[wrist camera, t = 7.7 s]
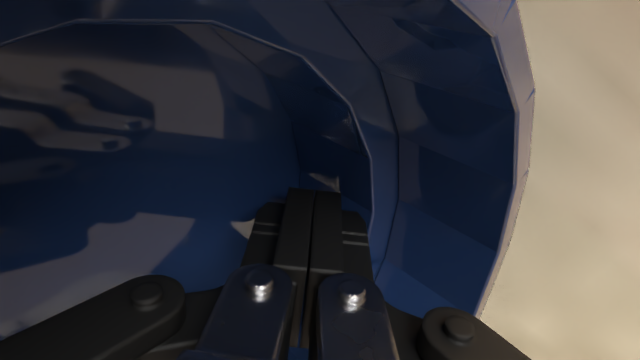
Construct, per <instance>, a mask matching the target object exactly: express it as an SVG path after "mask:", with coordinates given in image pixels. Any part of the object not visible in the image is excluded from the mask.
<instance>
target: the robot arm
mask: <svg viewBox="0 0 640 360" xmlns="http://www.w3.org/2000/svg"><path fill="white" fill-rule="evenodd" d="M313 196H314V190H312V189H303V188H294V187H289V189H288V193H287V198H286V203H285V204H283V203H274V202H267V203H266V204H265V205H264V206H263V207H261V208H260V209H259V210H258V211H257V215H256V218H255V221H254V224H253V227H252V231H251V234H250V237H249V240H248V243H247V247H246V250H245V253H244V256H243V259H242V262H241V266H240V268H238V269H236V270H234V271H233V272H232V273H231V274H230V275H229V276H228V278H227V280H226V282H225V284H224V285H222V286H220V287H218V288H215V289H211V290H206V291H199V292H191V293H185V291H184V288H183V286H182V285H181V284H180V282H178V281H177V280H176V279H174V278H171V277H168V276H165V275H145V276H140V277H136V278H133V279H131V280H128V281H126V282H124V283H122V284H120V285H118V286H116V287H114V288H112V289H109V290H107V291H105V292H103V293H101V294H99V295H97V296H95V297H93V298H90V299H88V300H86V301H84V302H82V303H80V304H78V305H76V306H74V307H71V308H69V309H67V310H65V311H63V312H61V313H59V314H57V315H55V316H52V317H50V318H48V319H46V320H44V321H42V322H40V323H38V324H36V325H33V326H31V327H29V328H27V329H25V330H23V331H21V332H19V333H17V334H14V335H12V336H10V337H8V338H6V339H4V340H2V341H0V360H288V352H289V347H295V348H297V345H298V338H299V330H300V322H301V314H302V306H303V314H302V325H301V337H300V348H306V349H309V351H308V360H531V359H530V358H529V357H527V356H526V355H525V354H523V353H522V352H521V351H519V350H518V349H517V348H515V347H514V346H513V345H512V344H510V343H509V342H508V341H506V340H505V339H504V338H502V337H501V336H500V335H499V334H497V333H496V332H495V331H493V330H492V329H491V328H489V327H488V326H487V325H486V324H484V323H483V322H482V321H480V320H479V319H478V318H476V317H475V316H473V315H471V314H470V313H468V312H465V311H463V310H460V309H457V308H453V307H437V308H433V309H431V310H429V311H428V312H427V313H426V314H425V315H424V317H423V318H420V317H417V316H414V315H411V314H409V313H406V312H403V311H401V310H398V309H397V308H395V307H393V306H391V305H390V304H388V303H387V302H386V301H385V300H384V297H383V294H382V292H381V290H380V288H379V287H378V286H377V285H376V284H375V283H374V278H373V271H372V263H371V256H370V248H369V241H368V237H367V236H368V233H367V226H366V222H365V221H364V219H363V218H362V217H361V216H360V214H359V213H358V212H355V211H346V210H341V193H339V192H330V191H321V190H316V191H315V198H314V206H313ZM312 207H313V214H312ZM311 219H312V222H311ZM304 290H305V291H304ZM303 298H304V302H303Z"/></svg>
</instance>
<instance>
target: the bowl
mask: <svg viewBox="0 0 640 360" xmlns="http://www.w3.org/2000/svg"><path fill="white" fill-rule="evenodd" d="M534 99H535V81H534V77H533V72H532V67H531V63H530V58H529V53H528V49H527V44H526V40H525V35H524V30H523V26H522V21H521V16H520V12H519V7H518V2H517V0H0V341H2V340H4V339H6V338H8V337H10V336H12V335H14V334H17V333H19V332H21V331H23V330H25V329H27V328H29V327H31V326H33V325H36V324H38V323H40V322H42V321H44V320H46V319H48V318H50V317H52V316H55V315H57V314H59V313H61V312H63V311H65V310H67V309H69V308H71V307H74V306H76V305H78V304H80V303H82V302H84V301H86V300H88V299H90V298H93V297H95V296H97V295H99V294H101V293H103V292H105V291H107V290H109V289H112V288H114V287H116V286H118V285H120V284H122V283H124V282H126V281H128V280H131V279H133V278H136V277H140V276H145V275H165V276H168V277H171V278H174V279H176V280H177V281H178V282H180V284H181V285H182V286H183V288H184V291H185V293H191V292H199V291H206V290H211V289H215V288H218V287H220V286H222V285H224V284H225V282H226V280H227V278H228V276H229V275H230V274H231V273H232V272H233V271H234V270H236V269H238V268H240V266H241V262H242V259H243V256H244V253H245V250H246V247H247V243H248V240H249V237H250V234H251V231H252V227H253V224H254V221H255V218H256V215H257V211H258V210H259V209H260V208H261V207H263V206H264V205H265V204H266V203H267V202H274V203H283V204H285V203H286V198H287V193H288V189H289V187H294V188H303V189H312V190H314V196H313V206H314V198H315V191H316V190H321V191H330V192H339V193H341V210H346V211H355V212H358V213H359V214H360V216H361V217H362V218H363V219H364V221H365V222H366V226H367V233H368V236H367V237H368V241H369V248H370V256H371V263H372V271H373V278H374V283H375V284H376V285H377V286H378V287H379V288H380V290H381V292H382V294H383V297H384V300H385V301H386V302H387V303H388V304H390V305H391V306H393V307H395V308H397V309H398V310H401V311H403V312H406V313H409V314H411V315H414V316H417V317H420V318H423V317H424V315H425V314H426V313H427V312H428V311H429V310H431V309H433V308H437V307H453V308H457V309H460V310H463V311H465V312H468V313H470V314H471V315H473V316H475V317H476V318H478V319H479V318H480V316H481V314H482V311H483V310H484V307H485V305H486V302H487V300H488V297H489V295H490V292H491V290H492V287H493V285H494V282H495V280H496V277H497V275H498V272H499V270H500V267H501V264H502V262H503V259H504V257H505V254H506V252H507V249H508V247H509V242H510V241H511V237H512V233H513V230H514V226H515V222H516V218H517V214H518V210H519V207H520V203H521V199H522V195H523V191H524V187H525V183H526V180H527V176H528V172H529V166H530V153H531V140H532V126H533V113H534ZM312 214H313V207H312ZM311 222H312V219H311ZM304 291H305V290H304ZM303 302H304V298H303ZM302 314H303V306H302ZM302 314H301V322H300V330H299V338H298V345H297V348H295V347H289V352H288V360H308V351H309V349H306V348H300V337H301V325H302Z"/></svg>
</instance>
